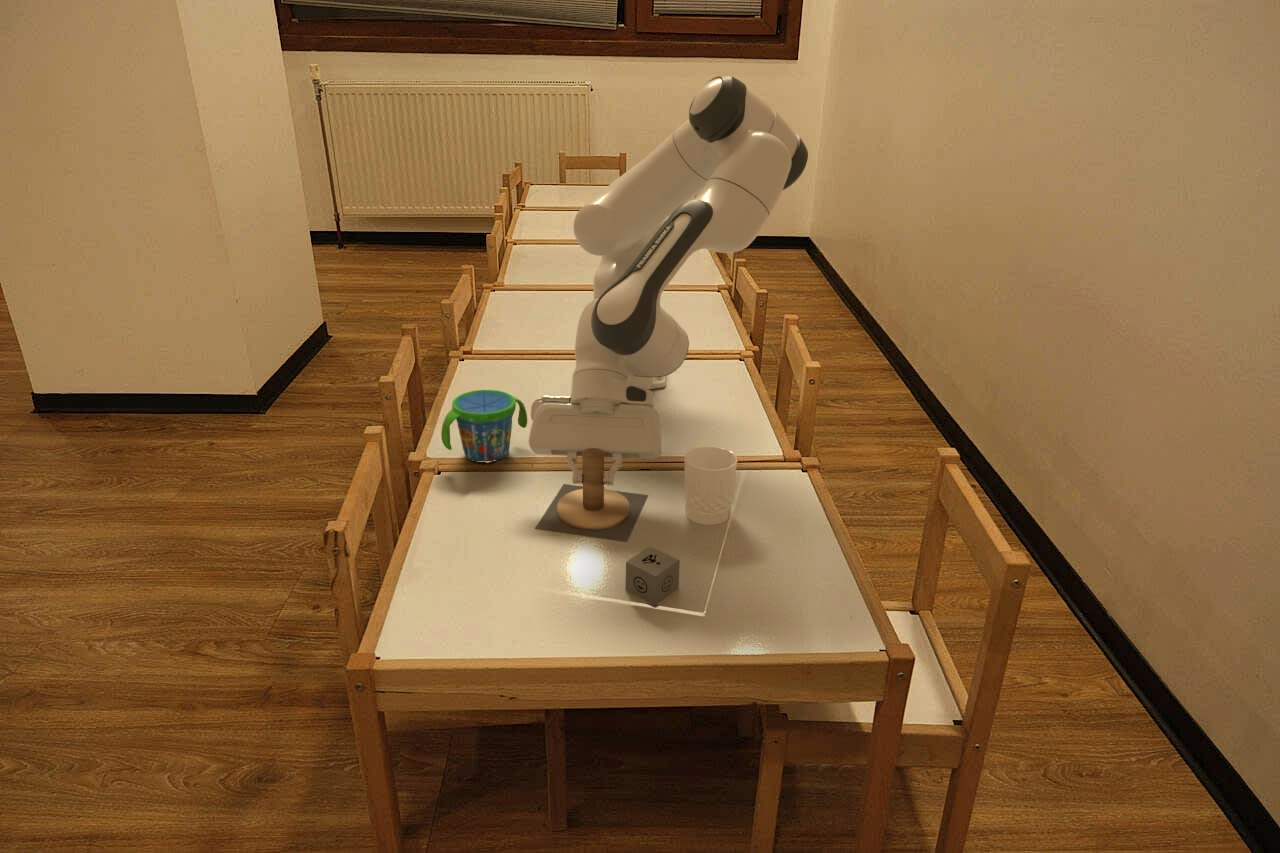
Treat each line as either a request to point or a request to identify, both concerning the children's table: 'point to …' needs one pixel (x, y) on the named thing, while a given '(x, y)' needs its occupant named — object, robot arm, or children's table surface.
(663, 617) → the children's table surface
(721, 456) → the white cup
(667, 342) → the robot arm
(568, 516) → the lid
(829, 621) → the children's table surface
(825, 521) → the children's table surface
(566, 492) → the mat
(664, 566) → the dice cube
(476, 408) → the snack cup
